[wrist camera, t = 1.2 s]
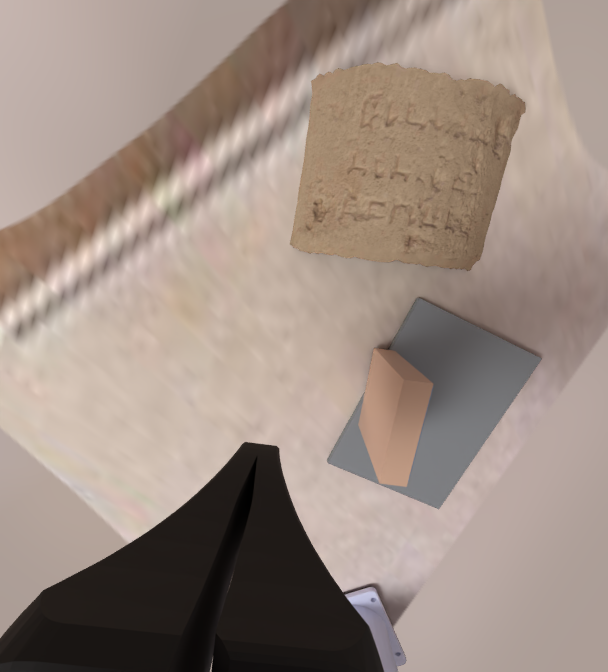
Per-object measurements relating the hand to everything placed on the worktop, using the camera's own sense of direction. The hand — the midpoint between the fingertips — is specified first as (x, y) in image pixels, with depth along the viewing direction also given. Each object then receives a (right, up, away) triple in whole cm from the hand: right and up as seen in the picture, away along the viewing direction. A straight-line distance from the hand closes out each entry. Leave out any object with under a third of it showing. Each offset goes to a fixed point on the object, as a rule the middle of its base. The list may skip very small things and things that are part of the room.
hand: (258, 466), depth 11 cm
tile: (+7, +1, +10) cm, 12 cm away
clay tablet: (+8, +15, +8) cm, 19 cm away
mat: (+11, -1, +11) cm, 15 cm away
